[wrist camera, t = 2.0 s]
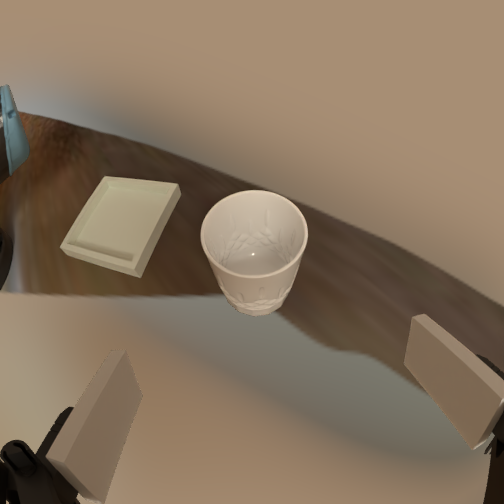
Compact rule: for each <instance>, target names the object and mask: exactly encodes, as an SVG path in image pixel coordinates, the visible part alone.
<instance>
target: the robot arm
mask: <svg viewBox="0 0 504 504" xmlns="http://www.w3.org/2000/svg"><path fill="white" fill-rule="evenodd" d="M29 152H30V147H29V143H28V140H27V137H26V134H25V131H24V128H23V125H22V122H21V119H20V116H19V113H18V110H17V107H16V105H15V101H14V98H13V95H12V93H11V90H10V88H9V85H5V86H1V87H0V184H1V183H2V182H3V181H4V180H6V179H7V178H8V177H9V176H12V174H13V172H14V171H15V170H16V169H17V168H18V167H19V166H20V165H22V164H23V163H24V162H25V161H26V159H27V158H28V156H29ZM11 258H12V242H11V239H10V237H9V236H8V235H7V234H6V233H5V232H4V231H3V230H2V229H1V228H0V289H1V287H2V285H3V283H4V281H5V279H6V276H7V273H8V270H9V267H10V263H11ZM404 365H405V366H406V367H407V368H408V370H409V371H410V372H411V373H412V374H413V376H414V377H415V378H416V379H417V380H418V382H419V383H420V384H421V385H422V387H423V388H424V389H425V390H426V391H427V393H428V394H429V395H430V396H431V398H432V399H433V400H434V401H435V403H436V404H437V405H438V406H439V408H440V409H441V410H442V411H443V413H444V414H445V415H446V417H447V418H448V419H449V420H450V422H451V423H452V424H453V425H454V427H455V428H456V430H457V431H458V432H459V433H460V435H461V436H462V437H463V439H464V440H465V441H466V443H467V444H468V445H469V447H470V448H471V449H472V450H474V449H475V448H477V447H478V446H480V445H482V444H483V443H485V442H486V440H487V439H488V437H489V436H490V434H491V432H493V434H494V435H495V437H494V438H493V440H492V441H491V443H490V444H489V446H488V447H487V448H486V450H485V453H484V454H487V453H488V451H489V450H490V448H491V447H492V449H491V452H490V454H491V460H490V468H489V475H488V482H487V487H486V492H485V498H484V502H483V504H504V373H503V372H502V371H500V369H499V368H498V367H496V366H494V364H493V363H492V362H491V361H489V360H488V359H487V358H485V357H482V356H480V355H478V354H477V355H474V354H473V353H472V352H471V351H470V350H468V349H467V348H466V347H465V346H464V345H462V344H461V343H460V342H459V341H458V340H456V339H455V338H454V337H453V336H452V335H450V334H449V333H448V332H447V331H445V330H444V329H443V328H442V327H441V326H439V325H438V324H437V323H436V322H434V321H433V320H432V319H430V318H429V317H428V316H427V315H425V314H422V315H418V316H414V317H412V321H411V328H410V334H409V339H408V345H407V350H406V355H405V360H404ZM142 397H143V395H142V392H141V390H140V387H139V384H138V382H137V379H136V377H135V374H134V371H133V368H132V366H131V363H130V360H129V357H128V354H127V351H126V350H111V352H110V353H109V355H108V356H107V358H106V359H105V361H104V362H103V364H102V365H101V367H100V368H99V370H98V371H97V373H96V374H95V376H94V377H93V379H92V380H91V382H90V383H89V385H88V387H87V388H86V390H85V391H84V393H83V394H82V396H81V398H80V399H79V401H78V402H77V404H76V405H75V407H68V408H67V409H65V410H64V411H63V412H62V413H61V414H60V415H59V417H58V418H57V420H56V421H55V424H54V425H53V426H52V427H51V429H50V430H51V431H49V432H48V434H47V436H46V437H45V439H44V441H43V442H42V444H41V446H40V447H39V449H38V451H37V453H36V454H34V452H33V451H32V450H31V449H30V448H29V446H28V445H27V444H26V443H25V442H24V441H21V440H13V441H10V442H8V443H7V444H6V445H4V446H3V448H2V450H1V452H0V453H1V454H0V457H1V459H2V460H3V461H4V462H5V463H3V462H2V461H1V460H0V504H6V500H7V501H8V502H9V504H80V502H79V501H78V500H77V498H76V497H77V495H78V493H80V494H81V495H82V497H84V498H85V499H86V500H88V501H91V502H95V503H98V504H104V503H105V500H106V496H107V494H108V490H109V488H110V484H111V481H112V478H113V475H114V473H115V469H116V467H117V464H118V461H119V458H120V455H121V452H122V450H123V447H124V444H125V441H126V438H127V436H128V433H129V431H130V428H131V425H132V423H133V420H134V417H135V415H136V412H137V409H138V407H139V404H140V402H141V399H142Z"/></svg>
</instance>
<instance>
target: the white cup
mask: <svg viewBox="0 0 504 504" xmlns="http://www.w3.org/2000/svg"><path fill="white" fill-rule="evenodd" d="M307 238H308V229H307V224H306V221H305V218H304V216H303V215H302V213H301V212H300V210H299V209H298V208H297V207H296V206H295V205H294V204H293V203H292V202H291V201H289V200H288V199H286V198H284V197H282V196H280V195H278V194H275V193H272V192H268V191H261V190H249V191H242V192H238V193H235V194H232V195H230V196H227V197H226V198H224V199H222V200H221V201H219V202H218V203H217V204H215V205H214V206H213V207H212V208H211V209H210V211H209V212H208V213H207V215H206V217H205V219H204V221H203V223H202V227H201V243H202V247H203V249H204V252H205V254H206V256H207V259H208V261H209V264H210V266H211V268H212V271H213V273H214V275H215V278H216V280H217V282H218V284H219V286H220V288H221V290H222V291H223V293H224V294H225V296H226V299H227V301H228V303H229V304H230V305H232V306H233V307H234V308H235V309H236V310H237V311H238V312H240V313H243V314H247V315H250V316H260V315H268V314H270V313H272V312H273V311H275V310H276V309H278V308H279V307H281V306H282V304H283V302H284V301H285V299H286V297H287V295H288V293H289V291H290V289H291V287H292V284H293V282H294V279H295V276H296V274H297V271H298V268H299V265H300V262H301V259H302V256H303V253H304V250H305V247H306V243H307Z"/></svg>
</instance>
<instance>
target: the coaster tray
mask: <svg viewBox="0 0 504 504" xmlns="http://www.w3.org/2000/svg"><path fill="white" fill-rule="evenodd" d="M180 196H181V192H180V188H179V185H178V184H175V183H166V182H158V181H149V180H139V179H129V178H119V177H108V176H105V177H104V178H103V179H102V181H101V182H100V184H99V185H98V186H97V188H96V189H95V191H94V192H93V194H92V195H91V197H90V198H89V200H88V201H87V203H86V204H85V206H84V207H83V209H82V211H81V212H80V214H79V215H78V217H77V219H76V220H75V222H74V224H73V225H72V227H71V229H70V230H69V232H68V234H67V235H66V237H65V239H64V241H63V243H62V244H61V246H60V248H61V249H62V250H63V251H64V252H65V253H66V254H67V255H68V256H71V257H74V258H77V259H80V260H83V261H86V262H89V263H93V264H96V265H99V266H102V267H105V268H109V269H112V270H115V271H119V272H122V273H125V274H129V275H132V276H136V277H139V278H141V277H142V274H143V272H144V270H145V268H146V265H147V263H148V261H149V259H150V257H151V254H152V252H153V250H154V248H155V246H156V244H157V242H158V240H159V238H160V236H161V233H162V231H163V229H164V227H165V225H166V223H167V221H168V219H169V217H170V215H171V213H172V211H173V210H174V208H175V206H176V204H177V202H178V200H179V198H180Z"/></svg>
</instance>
